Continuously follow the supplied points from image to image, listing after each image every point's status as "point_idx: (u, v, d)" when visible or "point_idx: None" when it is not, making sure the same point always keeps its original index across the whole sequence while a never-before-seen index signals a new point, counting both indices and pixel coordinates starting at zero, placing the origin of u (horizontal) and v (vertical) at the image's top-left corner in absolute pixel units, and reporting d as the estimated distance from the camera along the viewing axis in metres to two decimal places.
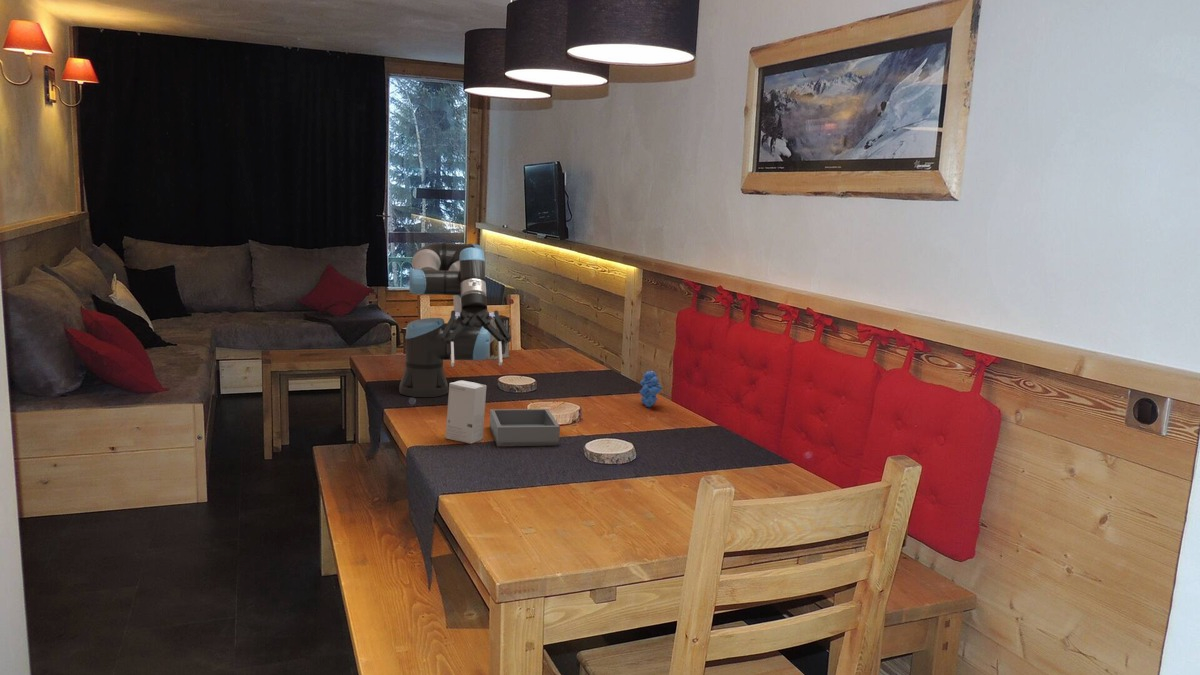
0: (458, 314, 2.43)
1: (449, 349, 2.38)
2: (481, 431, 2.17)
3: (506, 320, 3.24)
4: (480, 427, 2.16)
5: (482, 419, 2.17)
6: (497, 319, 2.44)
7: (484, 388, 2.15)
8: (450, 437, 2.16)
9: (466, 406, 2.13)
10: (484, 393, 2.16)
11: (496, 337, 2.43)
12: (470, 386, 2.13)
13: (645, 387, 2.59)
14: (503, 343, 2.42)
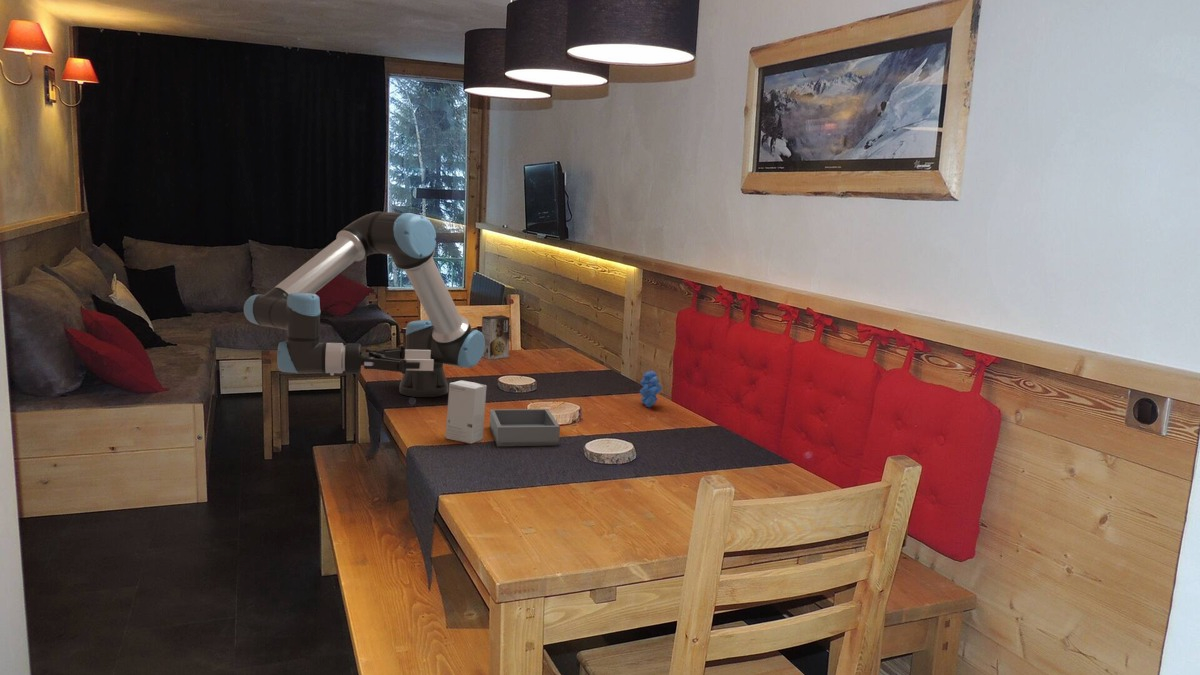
0: None
1: None
2: (481, 431, 2.17)
3: (506, 320, 3.24)
4: (480, 427, 2.16)
5: (482, 419, 2.17)
6: None
7: (484, 388, 2.15)
8: (450, 437, 2.16)
9: (466, 406, 2.13)
10: (484, 393, 2.16)
11: None
12: (470, 386, 2.13)
13: (645, 387, 2.59)
14: None
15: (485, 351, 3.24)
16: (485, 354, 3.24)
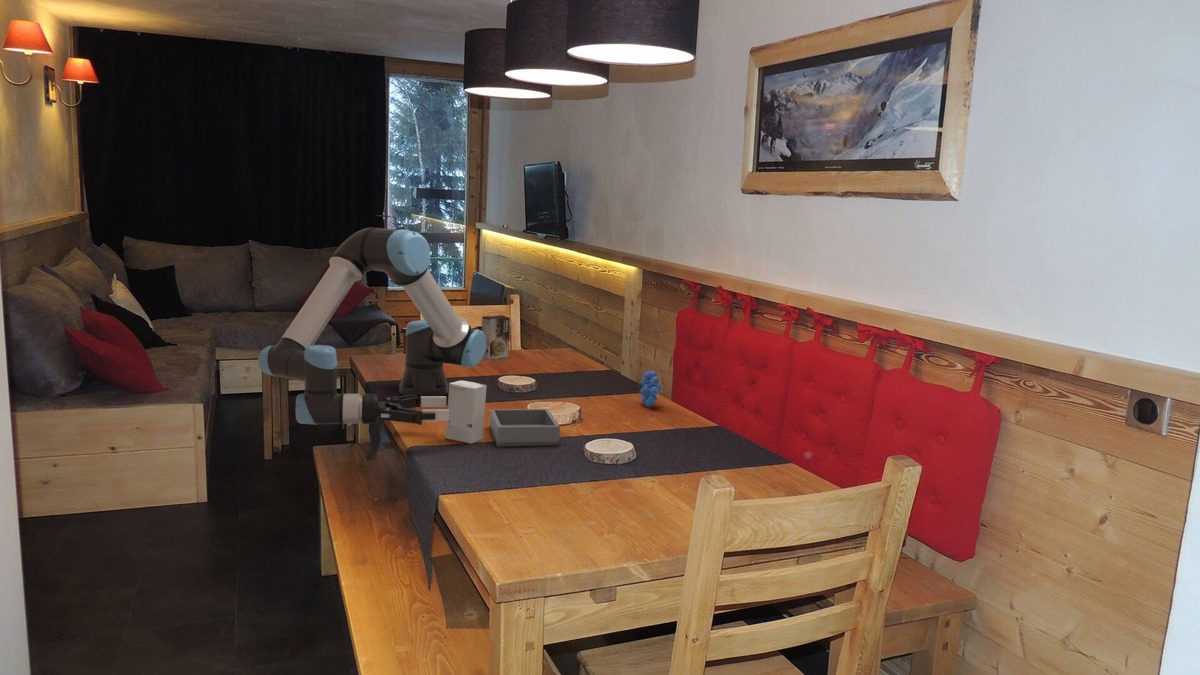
0: None
1: None
2: (481, 431, 2.17)
3: (506, 320, 3.24)
4: (480, 427, 2.16)
5: (482, 419, 2.17)
6: None
7: (484, 388, 2.15)
8: (450, 437, 2.16)
9: (466, 406, 2.13)
10: (484, 393, 2.16)
11: None
12: (470, 386, 2.13)
13: (645, 387, 2.59)
14: None
15: (485, 351, 3.24)
16: (485, 354, 3.24)
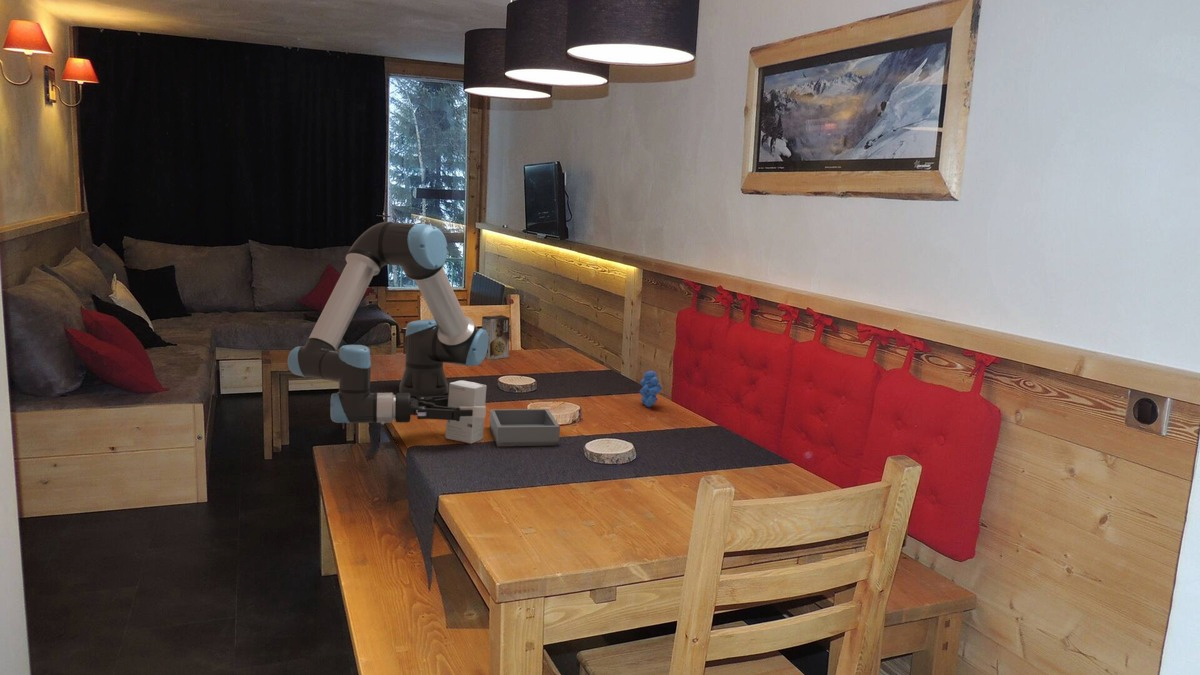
0: None
1: None
2: (481, 431, 2.17)
3: (506, 320, 3.24)
4: (480, 427, 2.16)
5: (482, 419, 2.17)
6: None
7: (484, 388, 2.15)
8: (450, 437, 2.16)
9: (466, 406, 2.13)
10: (484, 393, 2.16)
11: None
12: (470, 386, 2.13)
13: (645, 387, 2.59)
14: None
15: None
16: None
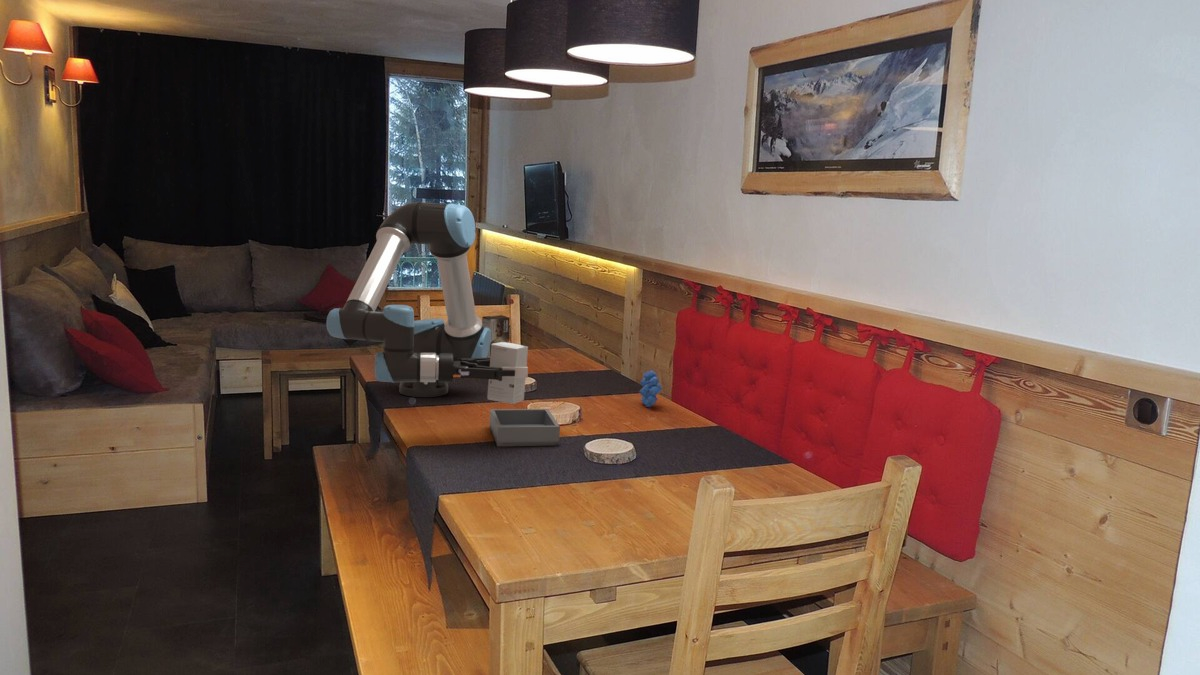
0: None
1: None
2: (522, 392, 2.18)
3: (506, 320, 3.24)
4: (521, 388, 2.17)
5: (523, 380, 2.18)
6: None
7: (526, 349, 2.16)
8: (492, 398, 2.17)
9: None
10: (526, 354, 2.17)
11: None
12: (512, 347, 2.14)
13: (645, 387, 2.59)
14: None
15: None
16: None
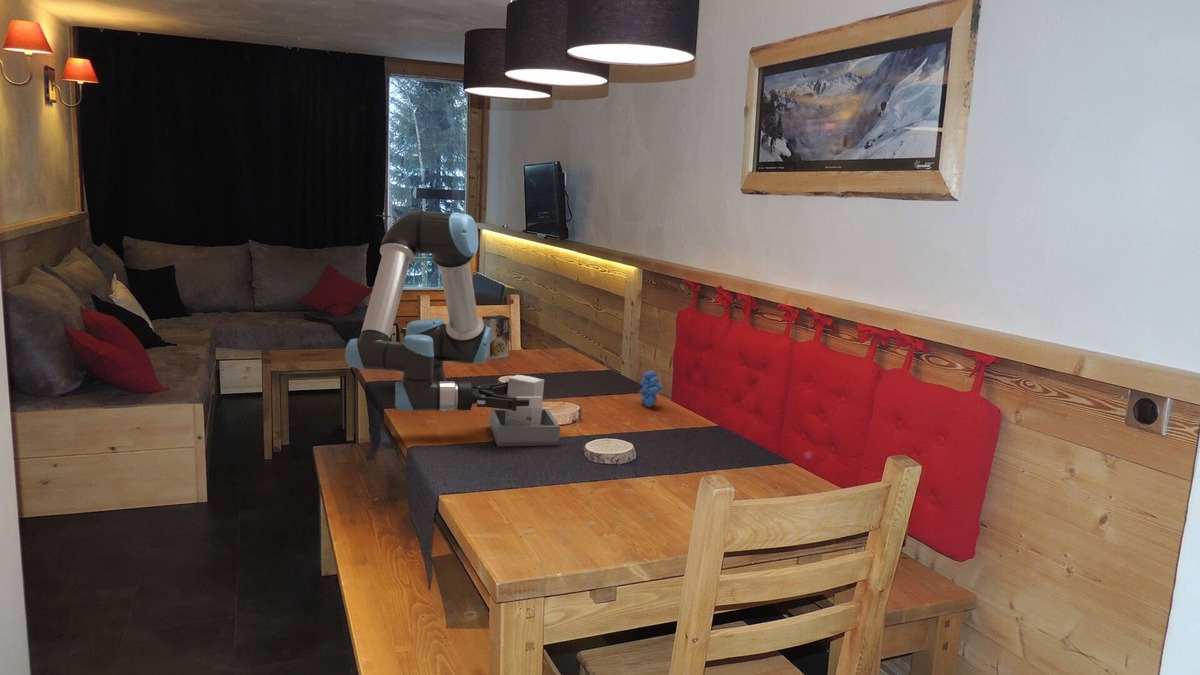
0: None
1: None
2: (539, 424, 2.23)
3: (506, 320, 3.24)
4: (538, 420, 2.22)
5: (540, 412, 2.22)
6: None
7: (542, 382, 2.21)
8: None
9: None
10: (542, 387, 2.21)
11: None
12: (529, 380, 2.18)
13: (645, 387, 2.59)
14: None
15: None
16: None
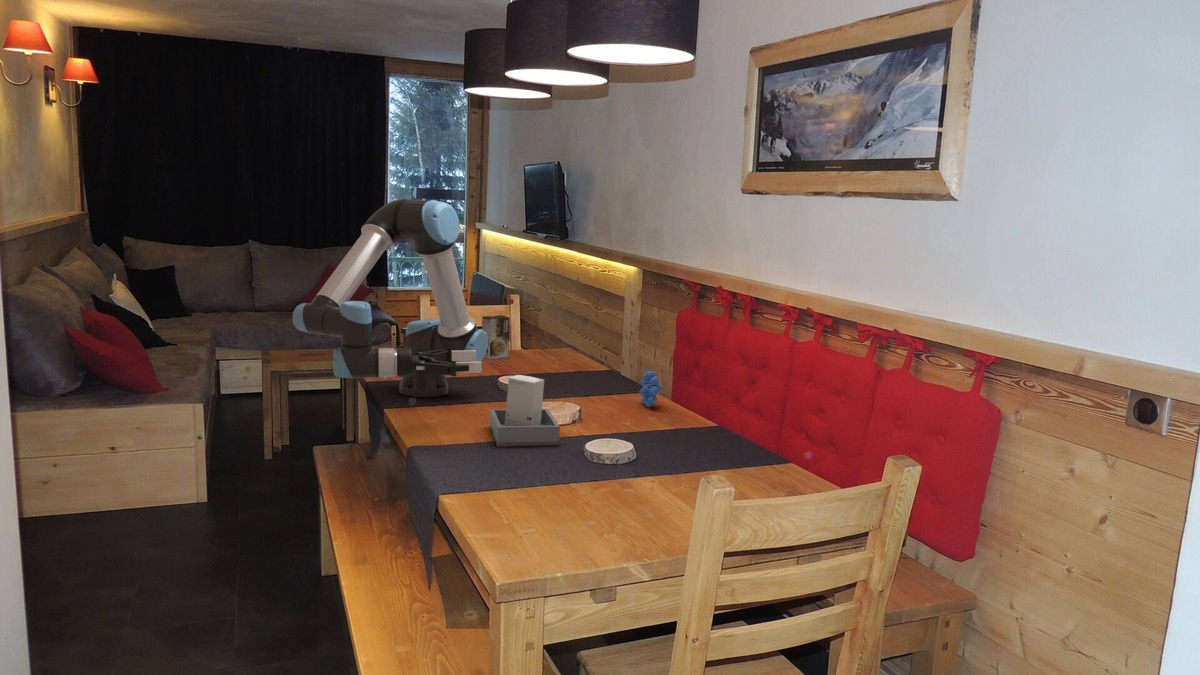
0: None
1: None
2: (539, 424, 2.23)
3: (506, 320, 3.24)
4: (538, 420, 2.22)
5: (540, 412, 2.22)
6: None
7: (542, 382, 2.21)
8: None
9: (526, 400, 2.18)
10: (542, 387, 2.21)
11: None
12: (529, 380, 2.18)
13: (645, 387, 2.59)
14: None
15: None
16: (485, 354, 3.24)
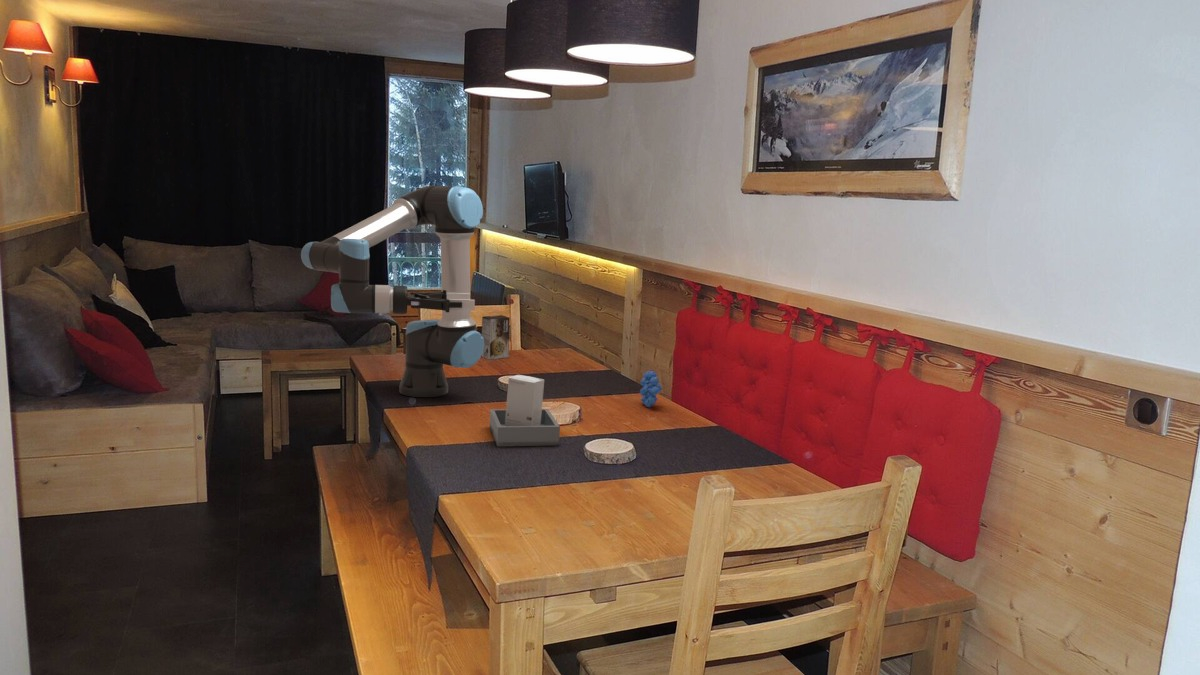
0: None
1: None
2: (539, 424, 2.23)
3: (506, 320, 3.24)
4: (538, 420, 2.22)
5: (540, 412, 2.22)
6: None
7: (542, 382, 2.21)
8: None
9: (526, 400, 2.18)
10: (542, 387, 2.21)
11: None
12: (529, 380, 2.18)
13: (645, 387, 2.59)
14: None
15: (485, 351, 3.24)
16: (485, 354, 3.24)
